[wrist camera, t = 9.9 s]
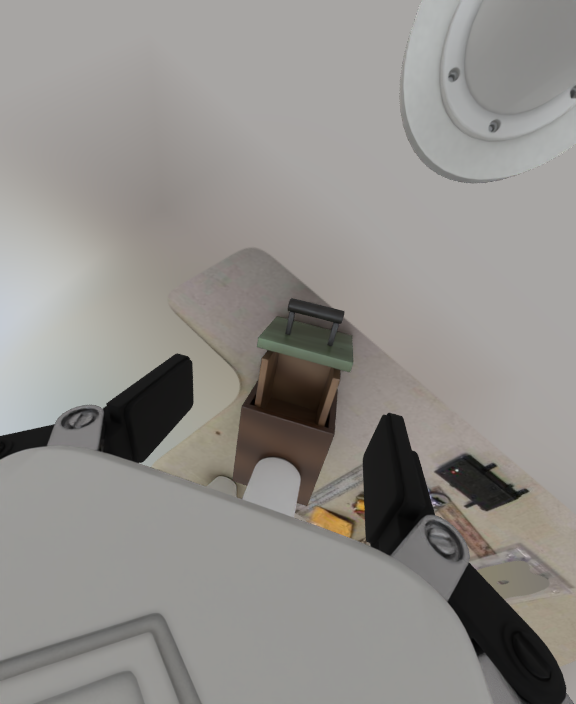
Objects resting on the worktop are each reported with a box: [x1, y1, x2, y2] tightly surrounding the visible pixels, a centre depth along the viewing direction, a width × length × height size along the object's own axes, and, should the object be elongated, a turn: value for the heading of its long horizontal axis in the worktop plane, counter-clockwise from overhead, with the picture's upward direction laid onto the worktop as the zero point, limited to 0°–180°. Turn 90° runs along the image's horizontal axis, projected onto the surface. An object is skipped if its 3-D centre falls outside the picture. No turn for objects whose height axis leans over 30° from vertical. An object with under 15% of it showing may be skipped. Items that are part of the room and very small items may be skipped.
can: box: [242, 457, 301, 517], centre depth 28 cm, size 6×6×12 cm
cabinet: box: [232, 379, 337, 506], centre depth 37 cm, size 15×12×10 cm
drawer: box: [254, 298, 353, 427], centre depth 32 cm, size 18×10×8 cm, turn 169°
